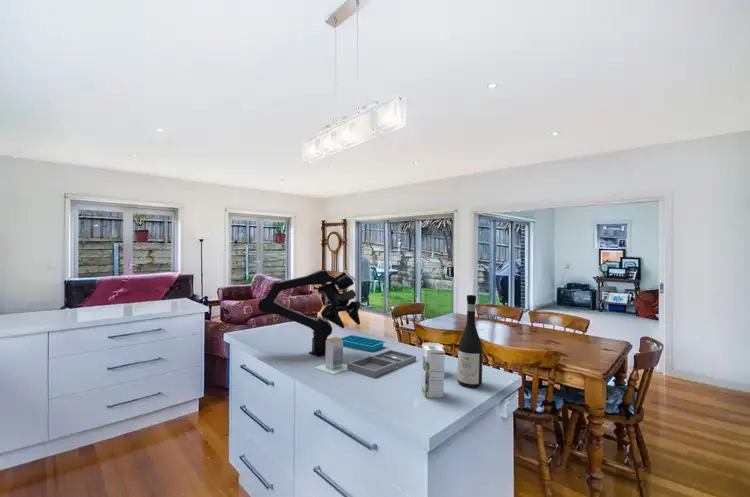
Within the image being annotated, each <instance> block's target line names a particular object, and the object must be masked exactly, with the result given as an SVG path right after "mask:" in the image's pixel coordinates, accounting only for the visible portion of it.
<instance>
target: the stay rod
mask: <svg viewBox="0 0 750 497" xmlns="http://www.w3.org/2000/svg"><path fill="white" fill-rule="evenodd" d="M384 357H386V358H390V359H394V360H397V361H403V359H400V358H396V357H393V356H389V355H384Z"/></svg>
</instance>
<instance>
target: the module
mask: <svg viewBox="0 0 750 497" xmlns="http://www.w3.org/2000/svg"><path fill="white" fill-rule="evenodd" d="M343 351H344V346H343V340H342V337H338V336H335V337H330V338H329V337H328V338H327V340H326V354H325V359H324V360H325V361H324V362H325V363H324V364H325V368H328V369H331V370H335V369H338V368H340V367H342V364H343V362H344V361H343V360H344V359H343V354H344V352H343Z"/></svg>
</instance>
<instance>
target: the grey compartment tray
mask: <svg viewBox="0 0 750 497" xmlns="http://www.w3.org/2000/svg"><path fill="white" fill-rule="evenodd" d="M384 355H389V356H393V357H396V358H400V359H403V361H397V360H394V359H390V358H386V357H384ZM414 362H417V355H413V354H410V353H409V354H408V353H404V352H402V351H397V350H393V349H389V350H386V351H382V352H380V353H377V354H374V355H367V356H364V357H360V358H359V359H355V360H353V361H349V362H347V364H346V365H347V369H348V370H347V371H351V372H354V373H358V374H360V375H363V376H366V377H369V378H373V379H376V378H378V377H381V376H383V375H386V374H388V373H391V372H392V371H394V370H397V369H401V368H402V367H404V366H405V367H406V366H407V365H409V364H412V363H414Z"/></svg>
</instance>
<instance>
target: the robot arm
mask: <svg viewBox="0 0 750 497" xmlns="http://www.w3.org/2000/svg"><path fill="white" fill-rule="evenodd" d="M354 282H355V281H354V279H353V278H352V277H350V276H349V275H348V274H347V273H346V271H343V272H341V273H339V274H338V275H337V276H334V275H331V274H329V273H328V271H326V270H324V269H319V270H317V271H315V272H312V273H310V274H307V275H303V276H299V277H296V278H295V277H294V278H290V279H286V280H282V281H276V282H274V283H273V285H272V288H271V289H270V290H269V291H268V293H267V294H266V296H263V297H262V298H261V299H260V300H259V301H258V305H257V307H258V310H259V311H260V312H261V313H264V314H269V315H274V316H275V315H277V316H280V317H282V318H285V319H288V320H290V321H293V322H294V323H298V324H300V325H303V326H305V327H308V328H310V329H311V330H312V338H311V339H312V340H311V350H310V351H308V353H309V354H311V355H314V356H317V357H321V356H324V355H325V354H326V340H327V339H328V338H329V336H330V335H331V334H332V333H333V327H332V325H331V323H333V324H335V325H336V326H338V327H340V328H341V329H344V328H345V327H346V326H345V324H344V322H343V321H342V319H341V316H340V313H341V312H346V313H347V314H348V317H349V318H350V319H351V320H352V321H353V322H354V323H355V324H356V325H358V326H360V324H361V321H360V317H359V309H360V307H362V304H361V302H360V301H359V300H354V299H355V297H356V295H357V294H356V292H355V290H354V289H349V290H347V291H345V290H346V289H348V288H350V287H351V286H353V285H354V284H355V283H354ZM315 285H319V286H318V288H317V292H318V294H319V295H322V294H324V296H325V297H326V299H327V302H326V303H327V304H326V305H325V307H324V308H323V309H322V310H321V311H320V315H318V317H317V318H314V317H312V316H309V315H306V314H304V313H301V312H299V311H296V310H294V309H292V308H289V307H287V306H284V305H282V304H281V302H279V301H277V300H276V299H277V297H278V296H279V294H280V293H281V292H282V291H287V290H290V289H291V290H292V289H295V288H300V287H304V286H315ZM320 285H322V286H320ZM340 290H341V291H344V292H340ZM350 300H353V301H351V302H350ZM347 304H348V305H347ZM330 322H331V323H330Z"/></svg>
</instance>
